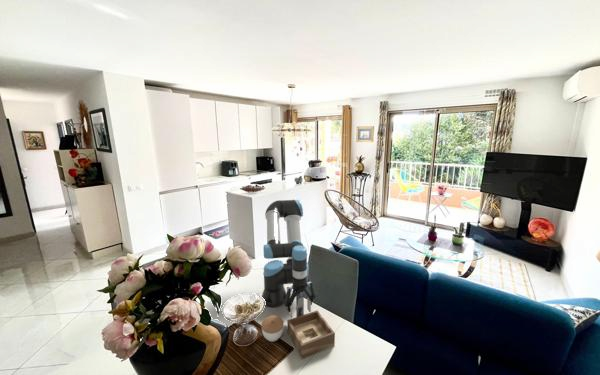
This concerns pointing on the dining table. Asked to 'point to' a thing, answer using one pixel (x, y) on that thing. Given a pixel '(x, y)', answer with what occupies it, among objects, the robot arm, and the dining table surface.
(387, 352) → the dining table surface
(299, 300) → the peg
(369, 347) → the dining table surface
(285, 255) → the robot arm
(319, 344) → the box
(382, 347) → the dining table surface
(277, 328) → the lidded jar
